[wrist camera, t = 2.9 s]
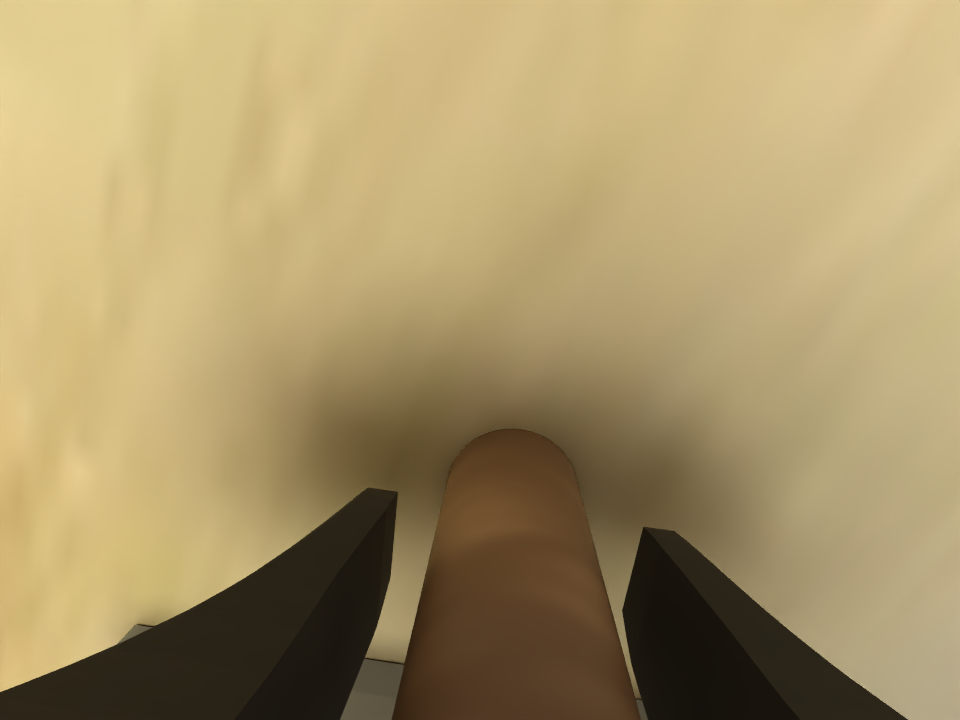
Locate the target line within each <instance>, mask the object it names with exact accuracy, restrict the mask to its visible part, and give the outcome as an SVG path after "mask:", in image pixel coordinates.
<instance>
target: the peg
mask: <svg viewBox="0 0 960 720" xmlns="http://www.w3.org/2000/svg"><path fill="white" fill-rule="evenodd" d="M392 720H641V718H640V714H639V710H638V707H637V703H636V699H635V695H634V692H633V688H632V684H631V680H630V677H629V673H628V669H627V666H626V662H625V658H624V654H623V651H622V647H621V643H620V639H619V636H618V632H617V628H616V625H615V621H614V617H613V613H612V610H611V606H610V602H609V598H608V595H607V591H606V587H605V584H604V580H603V576H602V572H601V569H600V565H599V561H598V557H597V554H596V550H595V546H594V543H593V539H592V535H591V531H590V528H589V524H588V520H587V516H586V513H585V509H584V505H583V502H582V498H581V494H580V490H579V487H578V483H577V479H576V475H575V472H574V469H573V467H572V465H571V463H570V461H569V459H568V458H567V456H566V455H565V453H564V452H563V451H562V450H561V449H560V448H559V447H558V446H557V445H555V444H554V443H553V442H551V441H550V440H548V439H547V438H545V437H543V436H541V435H539V434H536V433H533V432H530V431H525V430H517V429H505V430H498V431H493V432H490V433H487V434H485V435H482V436H480V437H478V438H476V439H475V440H473V441H472V442H470V443H469V444H468V445H467V446H465V447H464V449H463V450H462V451H461V452H460V453H459V454H458V456H457V457H456V459H455V461H454V462H453V464H452V467H451V470H450V472H449V477H448V481H447V485H446V490H445V494H444V498H443V502H442V507H441V511H440V515H439V519H438V524H437V528H436V532H435V536H434V541H433V545H432V549H431V553H430V558H429V562H428V566H427V570H426V575H425V579H424V583H423V588H422V592H421V596H420V600H419V605H418V609H417V613H416V617H415V622H414V626H413V630H412V634H411V639H410V643H409V647H408V651H407V656H406V660H405V664H404V669H403V673H402V677H401V681H400V686H399V690H398V694H397V698H396V703H395V707H394V711H393V715H392Z"/></svg>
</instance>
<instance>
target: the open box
mask: <svg viewBox="0 0 960 720" xmlns="http://www.w3.org/2000/svg"><path fill="white" fill-rule="evenodd" d="M150 628H152V627H147V626H140V625H135V626H134V627H133V628H132V629H131V630H130V631H129V632H128V633H127V634H126V635H125V637H124V638H123V639H122V640H121V641H120V642H119V643H121V642H123V641H125V640H127V639H130V638H132V637H134V636H136V635H138V634H140V633H142V632H144V631H146V630H148V629H150ZM119 643H118V644H119ZM403 669H404V665H402V664H395V663H389V662H382V661H375V660H368V659H364V661H363V663H362V666H361V668H360V671H359V673H358V676H357V678H356V681H355V683H354V686H353V688H352V691H351V693H350V696H349V698H348V701H347V703H346V706H345V709H344V711H343V714H342V716H341V719H340V720H392V715H393V711H394V707H395V703H396V698H397V694H398V690H399V686H400V681H401V677H402V673H403ZM636 703H637V707H638V710H639V714H640V718H641V720H648V718H647V715H646V712H645V709H644V705H643V702H642V700H637V699H636Z"/></svg>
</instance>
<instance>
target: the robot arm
mask: <svg viewBox="0 0 960 720" xmlns="http://www.w3.org/2000/svg"><path fill="white" fill-rule="evenodd" d="M397 496H398V492H394V491H387V490H380V489H373V488H367V489H366V490H364V491H363V492H362V493H360V494H359V495H358V496H356V497H355V498H354V499H353V500H351V501H350V502H349V503H348V504H347V505H345V506H344V507H343V508H342V509H340V510H339V511H338V512H337V513H335V514H334V515H333V516H332V517H330V518H329V519H328V520H327V521H325V522H324V523H323V524H321V525H320V526H319V527H317V528H316V529H315V530H313V531H312V532H311V533H309V534H308V535H307V536H305V537H304V538H303V539H301V540H300V541H299V542H297V543H296V544H295V545H293V546H292V547H291V548H289V549H288V550H286V551H285V552H283V553H282V554H280V555H279V556H277V557H276V558H274V559H273V560H271V561H270V562H268V563H267V564H266V565H264V566H263V567H261V568H260V569H258V570H257V571H255V572H254V573H252V574H250V575H249V576H247V577H246V578H244V579H242V580H241V581H239V582H237V583H236V584H234V585H232V586H231V587H229V588H227V589H225V590H224V591H222V592H220V593H218V594H216V595H215V596H213V597H211V598H209V599H207V600H206V601H204V602H202V603H200V604H199V605H197V606H195V607H193V608H191V609H189V610H187V611H185V612H183V613H181V614H179V615H177V616H175V617H173V618H171V619H169V620H167V621H165V622H163V623H161V624H158V625H156V626H154V627H152V628H150V629H148V630H146V631H144V632H142V633H140V634H138V635H136V636H134V637H132V638H130V639H127V640H125V641H123V642H121V643H119V644H117V645H115V646H113V647H110V648H108V649H106V650H103V651H101V652H99V653H96V654H94V655H92V656H89V657H87V658H85V659H82V660H80V661H78V662H75V663H73V664H71V665H68V666H66V667H63V668H61V669H58V670H56V671H53V672H51V673H48V674H46V675H43V676H41V677H38V678H36V679H33V680H31V681H28V682H26V683H23V684H21V685H18V686H15V687H13V688H10V689H8V690H5V691H2V692H0V720H340V719H341V716H342V714H343V711H344V709H345V706H346V703H347V701H348V698H349V696H350V693H351V691H352V688H353V686H354V683H355V681H356V678H357V676H358V673H359V671H360V668H361V666H362V663H363V661H364V658H365V656H366V653H367V650H368V648H369V645H370V643H371V640H372V638H373V635H374V632H375V630H376V627H377V624H378V621H379V617H380V613H381V610H382V606H383V603H384V599H385V595H386V591H387V588H388V584H389V580H390V576H391V564H392V553H393V542H394V530H395V519H396V508H397ZM622 612H623V618H624V625H625V631H626V637H627V643H628V648H629V653H630V659H631V664H632V667H633V671H634V675H635V678H636V681H637V685H638V688H639V692H640V695H641V698H642V702H643V705H644V709H645V712H646V715H647V718H648V720H908V719H906V718H905V717H903V716H902V715H901V714H899V713H898V712H896V711H895V710H894V709H892V708H891V707H889V706H888V705H887V704H885V703H884V702H882V701H881V700H880V699H878V698H877V697H876V696H874V695H873V694H871V693H870V692H869V691H867V690H866V689H864V688H863V687H862V686H860V685H859V684H857V683H856V682H855V681H853V680H852V679H850V678H849V677H848V676H846V675H845V674H844V673H843V672H841V671H840V670H839V669H837V668H836V667H835V666H833V665H832V664H831V663H829V662H828V661H827V660H825V659H824V658H823V657H822V656H820V655H819V654H818V653H817V652H815V651H814V650H813V649H812V648H810V647H809V646H808V645H807V644H806V643H804V642H803V641H802V640H801V639H799V638H798V637H797V636H796V635H794V634H793V633H792V632H791V631H789V630H788V629H787V628H786V627H785V626H783V625H782V624H781V623H780V622H779V621H777V620H776V619H775V618H774V617H773V616H771V615H770V614H769V613H768V612H767V611H766V610H764V609H763V608H762V607H761V606H760V605H759V604H757V603H756V602H755V601H754V600H753V599H752V598H751V597H749V596H748V595H747V594H746V593H745V592H744V591H743V590H741V589H740V588H739V587H738V586H737V585H736V584H735V583H734V582H732V581H731V580H730V579H729V578H728V577H727V576H726V575H725V574H723V573H722V572H721V571H720V570H719V569H718V568H717V567H716V566H715V565H713V564H712V563H711V562H710V561H709V560H708V559H707V558H706V557H704V556H703V555H702V554H701V553H700V552H699V551H698V550H697V549H695V548H694V547H693V546H692V545H691V544H690V543H688V542H687V541H686V540H685V539H684V538H682V537H681V536H680V535H679V534H677V533H676V532H675V531H669V530H662V529H655V528H648V527H643V531H642V534H641V538H640V542H639V546H638V550H637V554H636V558H635V562H634V566H633V570H632V574H631V578H630V582H629V586H628V590H627V594H626V598H625V602H624V606H623V610H622Z"/></svg>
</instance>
